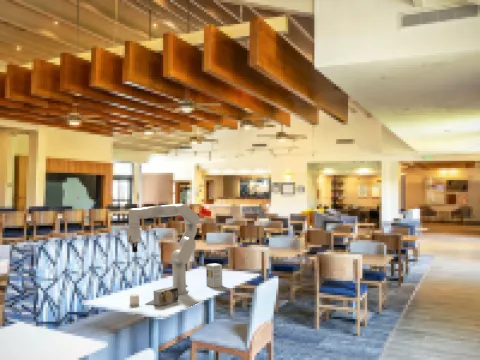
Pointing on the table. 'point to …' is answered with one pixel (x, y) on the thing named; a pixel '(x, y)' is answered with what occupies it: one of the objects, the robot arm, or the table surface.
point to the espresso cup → (134, 300)
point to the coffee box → (165, 296)
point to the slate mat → (154, 304)
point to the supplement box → (214, 275)
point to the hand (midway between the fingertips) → (134, 252)
